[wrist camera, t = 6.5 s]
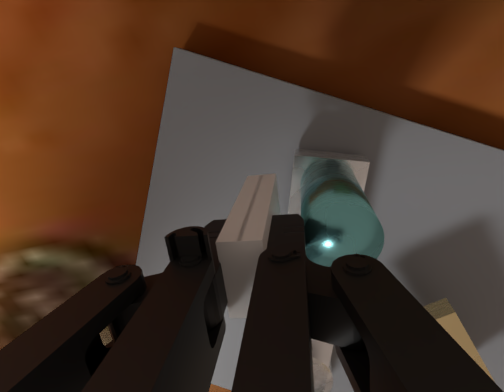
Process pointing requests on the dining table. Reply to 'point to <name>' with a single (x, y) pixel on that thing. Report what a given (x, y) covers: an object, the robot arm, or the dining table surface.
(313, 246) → the lever
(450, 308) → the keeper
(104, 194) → the dining table surface
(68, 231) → the dining table surface
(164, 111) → the base plate
